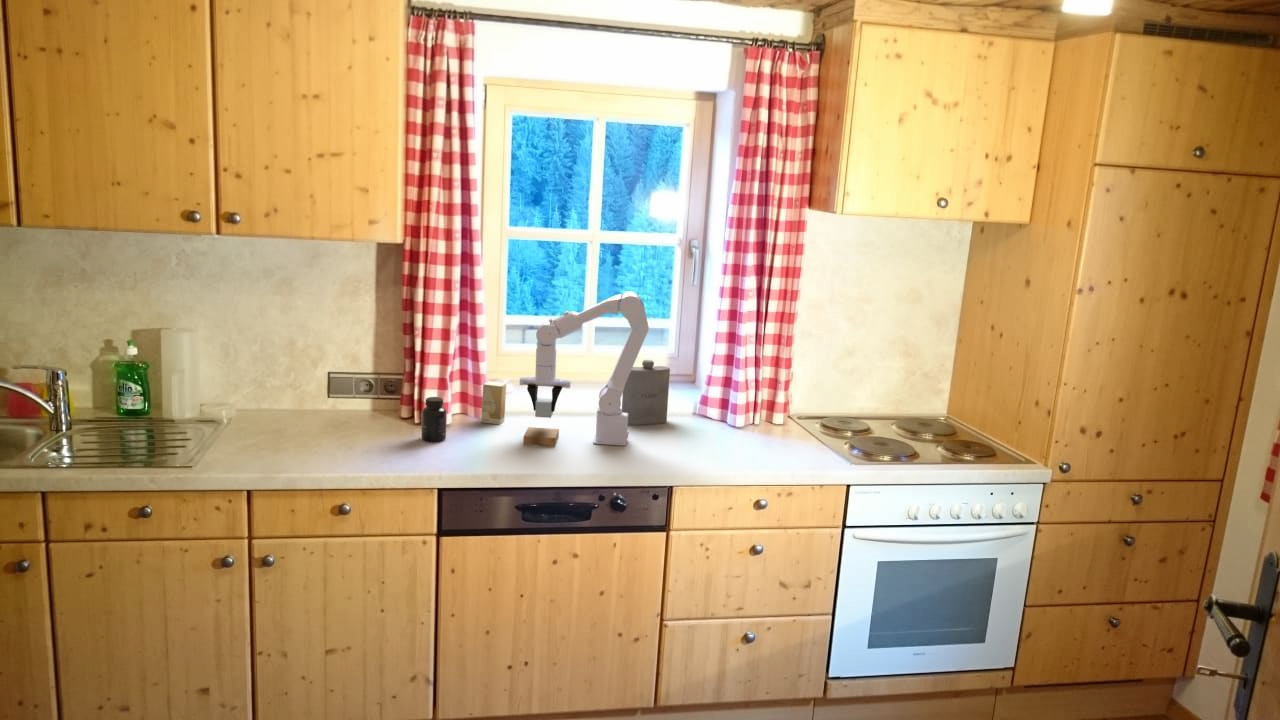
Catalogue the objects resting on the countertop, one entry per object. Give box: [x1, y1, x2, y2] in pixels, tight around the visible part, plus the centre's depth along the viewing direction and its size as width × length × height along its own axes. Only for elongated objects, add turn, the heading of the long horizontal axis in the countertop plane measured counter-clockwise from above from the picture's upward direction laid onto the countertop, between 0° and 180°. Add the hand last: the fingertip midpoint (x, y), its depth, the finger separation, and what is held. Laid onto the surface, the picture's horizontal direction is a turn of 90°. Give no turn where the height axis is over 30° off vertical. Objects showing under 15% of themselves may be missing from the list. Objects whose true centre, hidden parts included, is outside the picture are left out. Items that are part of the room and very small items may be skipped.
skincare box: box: [480, 380, 507, 425], centre depth 285 cm, size 6×4×12 cm
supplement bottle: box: [421, 396, 447, 444], centre depth 265 cm, size 7×7×12 cm
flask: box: [621, 359, 671, 426], centre depth 293 cm, size 15×6×20 cm, turn 110°
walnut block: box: [522, 426, 560, 448], centre depth 270 cm, size 9×9×3 cm
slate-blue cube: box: [534, 397, 554, 419], centre depth 271 cm, size 4×4×4 cm
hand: (544, 410), depth 271 cm, fingers closed on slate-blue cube, 4 cm apart
